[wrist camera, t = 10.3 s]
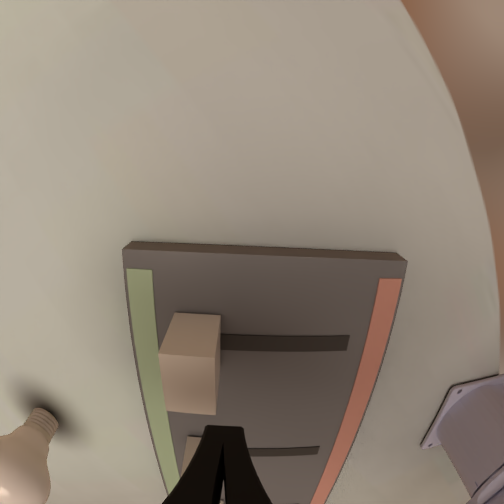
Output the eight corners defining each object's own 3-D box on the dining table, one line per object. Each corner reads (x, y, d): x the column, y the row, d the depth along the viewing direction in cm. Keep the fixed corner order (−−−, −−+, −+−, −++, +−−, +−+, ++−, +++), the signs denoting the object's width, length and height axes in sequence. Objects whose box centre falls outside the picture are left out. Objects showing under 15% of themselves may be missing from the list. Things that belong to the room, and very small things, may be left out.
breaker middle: (222, 439, 19) (219, 481, 16) (222, 465, 20) (220, 504, 17) (187, 436, 19) (180, 478, 15) (191, 462, 20) (185, 501, 16)
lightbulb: (50, 439, 22) (10, 520, 12) (9, 391, 20) (-48, 469, 10) (92, 435, 22) (52, 533, 11) (47, 381, 20) (-18, 478, 9)
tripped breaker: (220, 314, 16) (214, 357, 13) (220, 368, 17) (215, 415, 14) (174, 312, 16) (158, 353, 13) (178, 365, 17) (166, 410, 14)
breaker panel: (396, 253, 17) (408, 261, 16) (313, 511, 26) (315, 521, 24) (131, 241, 17) (121, 249, 15) (177, 509, 25) (175, 520, 24)
